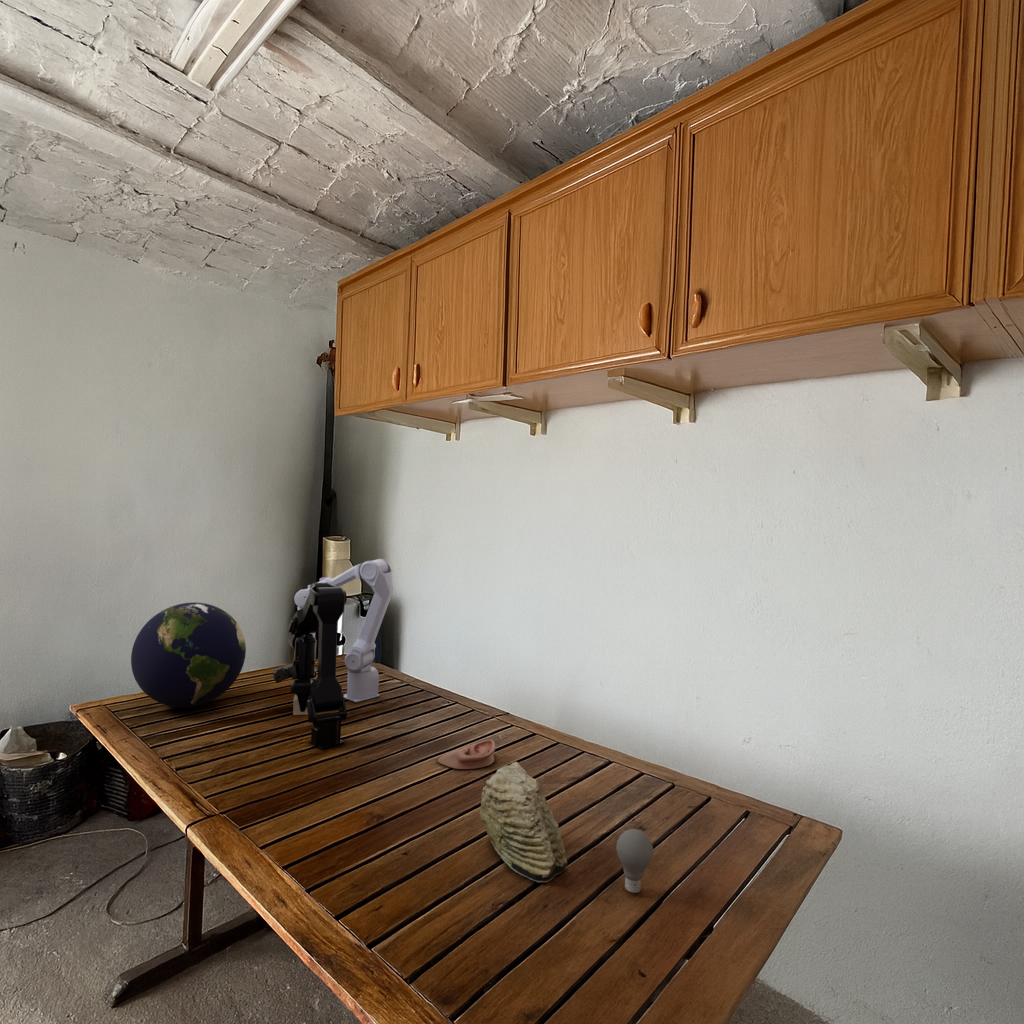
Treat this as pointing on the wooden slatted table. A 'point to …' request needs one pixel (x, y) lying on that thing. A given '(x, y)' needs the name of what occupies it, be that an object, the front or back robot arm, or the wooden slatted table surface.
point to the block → (296, 707)
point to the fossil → (522, 824)
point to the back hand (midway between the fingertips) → (304, 668)
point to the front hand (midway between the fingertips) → (303, 708)
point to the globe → (188, 654)
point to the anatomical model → (470, 756)
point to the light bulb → (634, 857)
